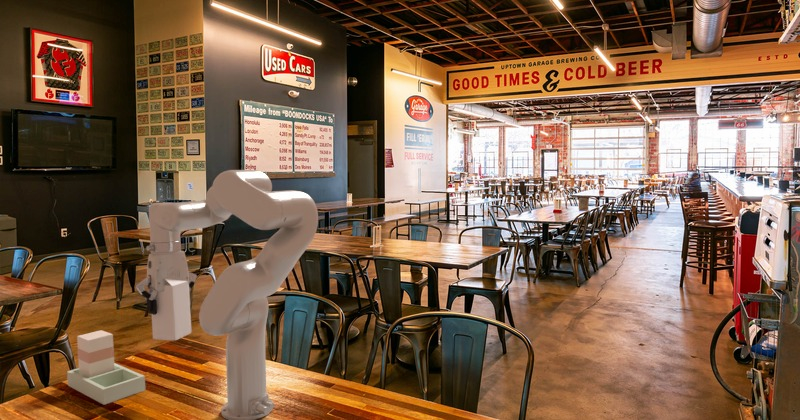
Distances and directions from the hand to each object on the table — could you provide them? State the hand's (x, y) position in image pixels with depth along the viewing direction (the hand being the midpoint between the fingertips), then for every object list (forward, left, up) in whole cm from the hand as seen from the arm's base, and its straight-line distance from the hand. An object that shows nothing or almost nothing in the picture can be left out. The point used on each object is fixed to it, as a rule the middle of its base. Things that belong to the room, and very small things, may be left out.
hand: (169, 309), depth 147 cm
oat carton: (+19, +11, -22) cm, 31 cm away
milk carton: (-1, 0, -8) cm, 8 cm away
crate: (+14, +11, -23) cm, 29 cm away
